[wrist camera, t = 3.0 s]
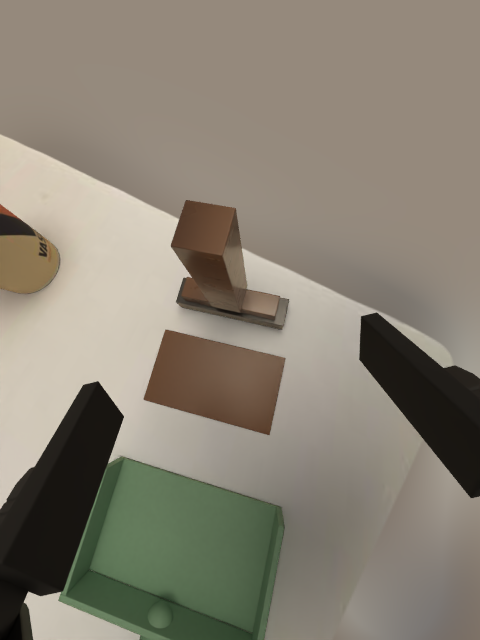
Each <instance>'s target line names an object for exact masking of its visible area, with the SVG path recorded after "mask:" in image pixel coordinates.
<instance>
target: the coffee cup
mask: <svg viewBox="0 0 480 640" xmlns="http://www.w3.org/2000/svg"><path fill="white" fill-rule="evenodd" d="M59 263H60V258H59V253H58V251H57V249H56V247H55V246H54V245H53V244H52V243H51V242H49V241H48V240H47V239H46V238H44V237H43V236H42V235H40V234H39V233H38V232H36V231H35V230H34V229H32V228H31V227H30V226H28V225H27V224H26V223H24V222H23V221H22V220H21V219H19V218H18V217H17V216H15V215H14V214H13V213H11V212H10V211H9V210H7V209H6V208H5V207H3V206H2V205H1V204H0V288H1V289H5V290H9V291H13V292H17V293H23V294H28V293H33V292H36V291H39V290H41V289H42V288H44V287H45V286H46V285H48V284H49V283H50V282H51V281H52V279H53V278H54V277H55V275H56V273H57V271H58V268H59Z"/></svg>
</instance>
